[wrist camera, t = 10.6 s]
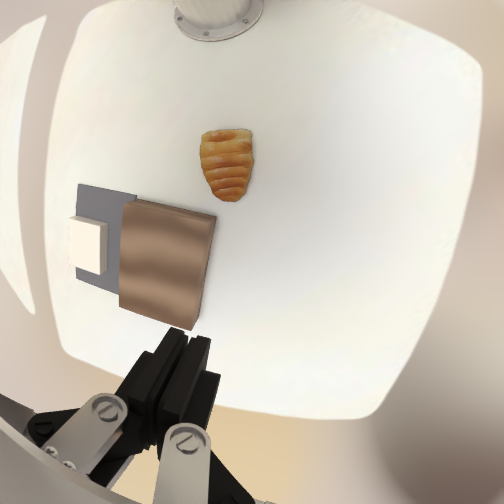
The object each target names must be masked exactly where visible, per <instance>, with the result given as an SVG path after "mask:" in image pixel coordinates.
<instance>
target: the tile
mask: <svg viewBox="0 0 504 504" xmlns="http://www.w3.org/2000/svg"><path fill="white" fill-rule="evenodd" d="M107 239H108V223H105V222H101V221H97V220H93V219H89V218H85V217H81V216H74V217H71V218H68V246H69V264H70V265H73V266H75V267H78V268H81V269H84V270H87V271H89V272H92V273H95V274H98V275H101V274H102V273H104V272H105V271H107Z"/></svg>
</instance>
